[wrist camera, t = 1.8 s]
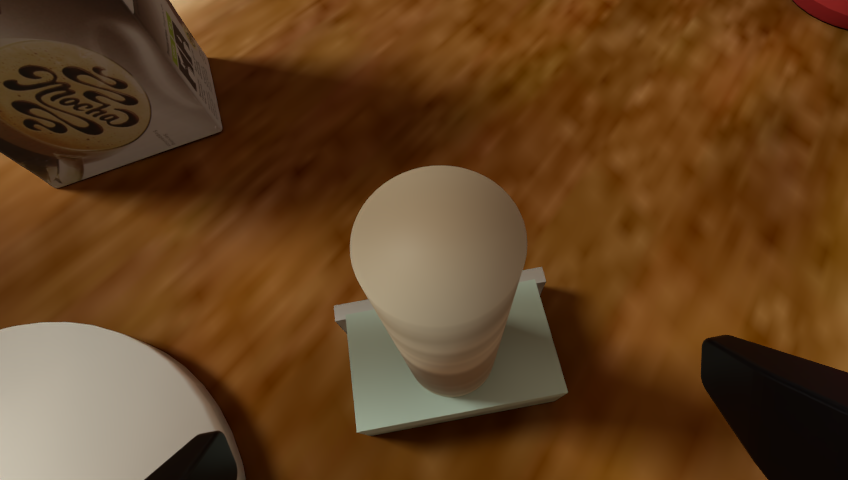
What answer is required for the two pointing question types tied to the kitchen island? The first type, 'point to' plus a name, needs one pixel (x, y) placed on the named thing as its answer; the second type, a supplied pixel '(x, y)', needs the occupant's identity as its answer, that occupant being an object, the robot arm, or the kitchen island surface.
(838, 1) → the canned food
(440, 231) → the rubber stamp
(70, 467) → the white plate
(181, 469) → the robot arm
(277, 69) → the kitchen island surface
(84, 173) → the coffee box
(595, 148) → the kitchen island surface
